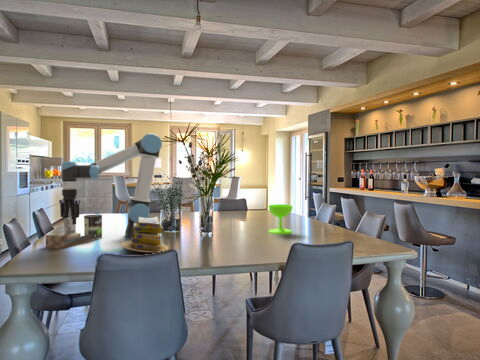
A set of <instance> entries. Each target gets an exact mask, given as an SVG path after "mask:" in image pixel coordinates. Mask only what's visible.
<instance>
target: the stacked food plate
mask: <svg viewBox="0 0 480 360" xmlns="http://www.w3.org/2000/svg"><path fill="white" fill-rule="evenodd" d="M163 230H164V228H163V226H162V224H161V222H160V219H159V218H158V216H154V217H148V218H143V217H138V223H134V224H133V232H132V233H133V234H132V236H131V237H130V240H125V241H122V242H120V246H121V247H122V248H124V249H126V250H130V251H135V252H141V253H142V252H143V253H161V251H163V252H166V251H168V250H169V248H170V247H169V246H168V245H166V244H163V243H162V241H161V240H162V238H161V237H162V236H161V235H159V234H163ZM165 250H166V251H165Z"/></svg>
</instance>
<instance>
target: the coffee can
mask: <svg viewBox="0 0 480 360" xmlns="http://www.w3.org/2000/svg"><path fill="white" fill-rule="evenodd" d="M83 218H84V219H83V220H84V221H83V222H84V225H83V226H84V227H83V228H84V234H83V236H85V235H89V234H92V241H93V240H95V241H96V240H101V239H103V214H86V215H84V216H83Z"/></svg>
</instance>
